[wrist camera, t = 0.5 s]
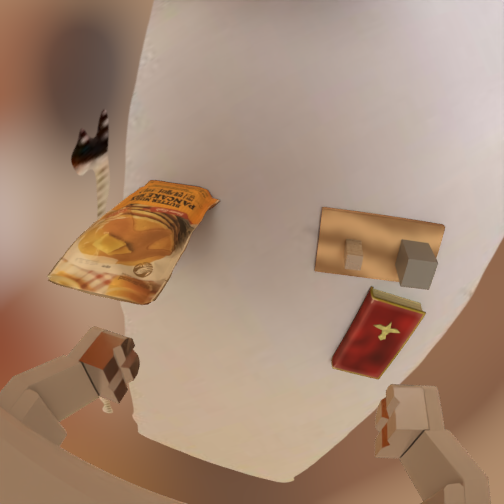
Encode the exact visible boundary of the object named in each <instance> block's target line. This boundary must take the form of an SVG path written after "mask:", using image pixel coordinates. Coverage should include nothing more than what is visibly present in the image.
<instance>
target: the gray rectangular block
mask: <svg viewBox="0 0 504 504" xmlns="http://www.w3.org/2000/svg"><path fill="white" fill-rule="evenodd" d="M437 265H438V262H437V259H436V257H435V255H434V253H433V251H432V249H431V247H430V245H429V243H424V242H417V241H411V240H404V239H402V240H401V244H400V248H399V252H398V256H397V260H396V263H395V267H396V270H397V274H398V278H399V282H400V286H401V287H410V288H418V289H427V290H429V288H430V285H431V282H432V279H433V277H434V274H435V271H436V268H437Z"/></svg>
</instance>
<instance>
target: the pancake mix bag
mask: <svg viewBox="0 0 504 504" xmlns="http://www.w3.org/2000/svg"><path fill="white" fill-rule="evenodd" d="M219 201H220V200H218V199H215V198H212V196H211V194H210V193H209V191H208V190H207V189H204V188H201V187H197V186H191V185H184V184H177V183H170V182H164V181H157V180H150V181H149V182H148V183H147V184H146V185H145V186H144V187H140V188H139V189H138V190H137V191H136V192H134V193H133V194H131V195H129V196H128V197H127V198H125V199H124V200H123V201H121V202H120V203H119V204H118V205H117V206H115V207H114V208H113V209H111V210H110V211H109V212H107V213H106V214H105V215H103V216H102V217H101V218H100V219H98V220H97V221H96V222H94V223H93V224H92V225H91V227H89V228H88V229H87V230H86V231H85V232H83V233H82V234H81V235H80V237H78V239H77V240H76V241H75V242H74V243H73V244H72V245H71V246H70V248H69V249H68V250H67V251H66V253H65V254H64V255H63V257H62V258H61V259H60V260H59V261H58V262H57V264H56V265H55V266H54V268H53V269H52V271H51V272H50V273H49V274H48V276H47V277H48V278H50V279H49V280H48V281H50V282H52V283H54V284H57V285H60V286H63V287H67V288H71V289H75V290H78V291H81V292H85V293H88V294H91V295H95V296H100V297H105V298H111V299H115V300H119V301H124V302H130V303H134V304H140V305H146V304H149V303H151V302H152V301H155V300H156V299H157V297H158V296H159V294H160V293H161V292H162V290H163V288H164V287H165V285H166V283H167V282H168V280H169V279H170V277H171V274H172V271H173V269H174V267H175V265H176V264H177V262H178V260H179V259H180V257H181V255H182V254H183V252H184V250H185V248H186V246H187V244H188V242H189V239H190V236H191V234H192V232H193V231H194V229H195V228H196V227H197V226H198V225H199V223H200V222H201V221H202V219H203V216H204V214H205V213H206V211H207V210H209V209H211V208H213V207H214V206H215V205H216V204H217V203H218V202H219Z"/></svg>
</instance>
